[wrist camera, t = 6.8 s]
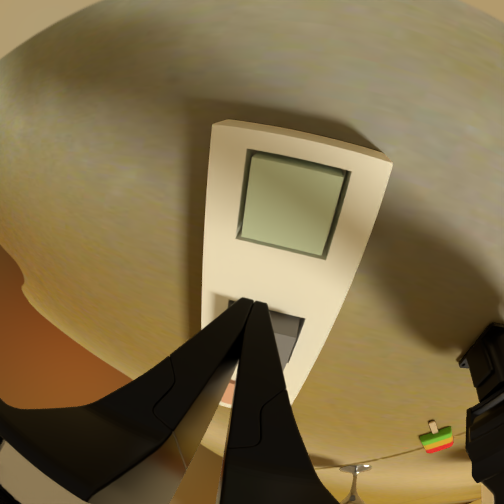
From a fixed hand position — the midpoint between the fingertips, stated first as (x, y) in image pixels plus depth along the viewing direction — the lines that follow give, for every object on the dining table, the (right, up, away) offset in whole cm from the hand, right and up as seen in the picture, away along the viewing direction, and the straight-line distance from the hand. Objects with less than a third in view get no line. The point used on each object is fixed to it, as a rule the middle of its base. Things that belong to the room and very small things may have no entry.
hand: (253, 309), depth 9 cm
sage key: (+3, +6, +9) cm, 11 cm away
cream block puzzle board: (+1, -3, +16) cm, 16 cm away
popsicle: (+31, -28, +24) cm, 48 cm away
